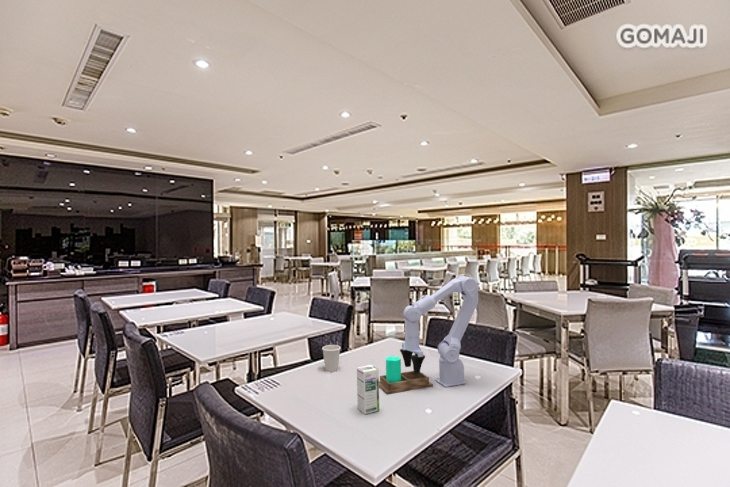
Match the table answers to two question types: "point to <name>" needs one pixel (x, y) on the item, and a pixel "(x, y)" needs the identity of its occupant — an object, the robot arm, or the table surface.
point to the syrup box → (368, 389)
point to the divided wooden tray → (405, 383)
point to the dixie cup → (331, 357)
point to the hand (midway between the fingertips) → (412, 369)
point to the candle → (393, 369)
